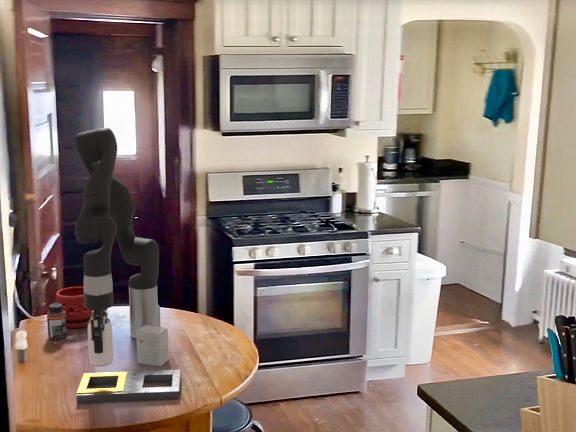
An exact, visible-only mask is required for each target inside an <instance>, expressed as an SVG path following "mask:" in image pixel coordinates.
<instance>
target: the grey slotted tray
mask: <svg viewBox="0 0 576 432" xmlns="http://www.w3.org/2000/svg"><path fill="white" fill-rule="evenodd" d="M79 383H80V384H79V386H78V389H77V392H76V395H75V396H76V405H86V404H87V405H88V404H107V403H109V404H112V403H135V402H155V401H156V402H158V401H177V400H178V401H179V400H180V393H181V391H180V390H181V389H180V387H181V369H161V370H160V369H159V370H157V369H156V370H133V371H128V370H127V371H109V372H108V371H106V372H104V371H103V372H84V373H83V375H82V378H81V381H80V382H79ZM161 383H163V384H164V383H165V384H166V383H171V386H155V387H152V386H151V387H150V386H149V387H145V384H161ZM116 384H117V385H116ZM113 385H114V386H115V385H116V386H115V387H106V388H101V387H100V388H91V386H113Z"/></svg>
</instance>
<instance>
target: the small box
mask: <svg viewBox="0 0 576 432" xmlns="http://www.w3.org/2000/svg"><path fill="white" fill-rule="evenodd" d="M135 339H136V355H137V356H136V360H137V364H142V365H148V366H155V367H162V366H163V365H164V364H165V363H166V362H168V361H169V359H170V355H169V329H168V327H155V326H148V325H145V326H143V327H142V328H140V329H139V330H137V331H136V338H135Z"/></svg>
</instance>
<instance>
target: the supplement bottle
mask: <svg viewBox="0 0 576 432" xmlns="http://www.w3.org/2000/svg"><path fill="white" fill-rule="evenodd" d="M48 306H49V311H47V313H46V321H47V322H46V323H47V336H48V339H49V340H51V341H60V340H63V339H65V338H66V337H67V335H68V330H67V328H68V327H67V326H66V312H65V311H64V310H63V309H62V304H60V303H57V302H56V303H55V302H54V303H51V304H49V305H48Z"/></svg>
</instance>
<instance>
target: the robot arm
mask: <svg viewBox="0 0 576 432" xmlns="http://www.w3.org/2000/svg"><path fill="white" fill-rule="evenodd" d="M117 143H118V142H117V138H116V135H115V134H114V132H113V130H112V129H111V128H109V127H100V128H95V129H91V130H86V131H82V132H79V133H77V134H76V135H75V137H74V146H75V150H76V152H77V154H78V157H79V159H80V161H81V163H82V165H83V166H84V168H85V170H86V171H87V174H88V175H89V177H88V178H87V181H86V183H85V186H84V188H83V189H84V190H83V201H82V202H83V203H82V208H81V212H80V214H79V216H78V219H77V220H76V223H75V226H74V227H75V228H74V236H75V238H76V240H77V241H78V242H79V243H80V244H102V246H101V247H100V248H98V249H94V250H89V251H87V252H85V253H84V255H83V287H84V305H85V307H86V308H87V309H89V310H90V309H91V310H93V312H92V315H91V333H92V338H91V339H92V341H94V352H95V353H102V352H103V331H105V321H106V320H107V318H108V315H109V312H108V309H110V308H112V307H113V305H114V290H113V289H114V288H113V287H114V286H113V284H114V283H113V277H112V249H113V245H114V242H115V238H116V240H117V243H118V247H119V250H120V253H121V256H122V258H123V260H124V262H125V263H127V264H128V265H132V266H137V267H140V273H136V274H133V275H131V276H130V277H129V279H128V295H129V296H128V297H129V298H128V299H129V304H128V306H129V331H130V337H132V338H133V339H136V331H137V330H139V329H140V328H142V327H143V326H145V325H148V326H155V327H161V325H162V324H161V306H160V305H159V303H158V299H159V298H158V279H159V272H160V268H159V267H160V265H159V264H160V248H159V244H158V242H157V241H156V239H155V240H154V239H152V238H151V239H150V238H144V237H138V236H136V234H135V232H134V228H133V225H132V222H133V219H134V217H135V214H136V204H135V201H134V198H133V195H132V192H131V191H130V189H129V187H128V185H126V184H125V183H124V182H123V181H121V180H120V179H119V178H117V177H115V176H114V171H115V165H116V162H117V154H118V144H117ZM101 324H103V327H102V328H101ZM95 333H99V336H95Z"/></svg>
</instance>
